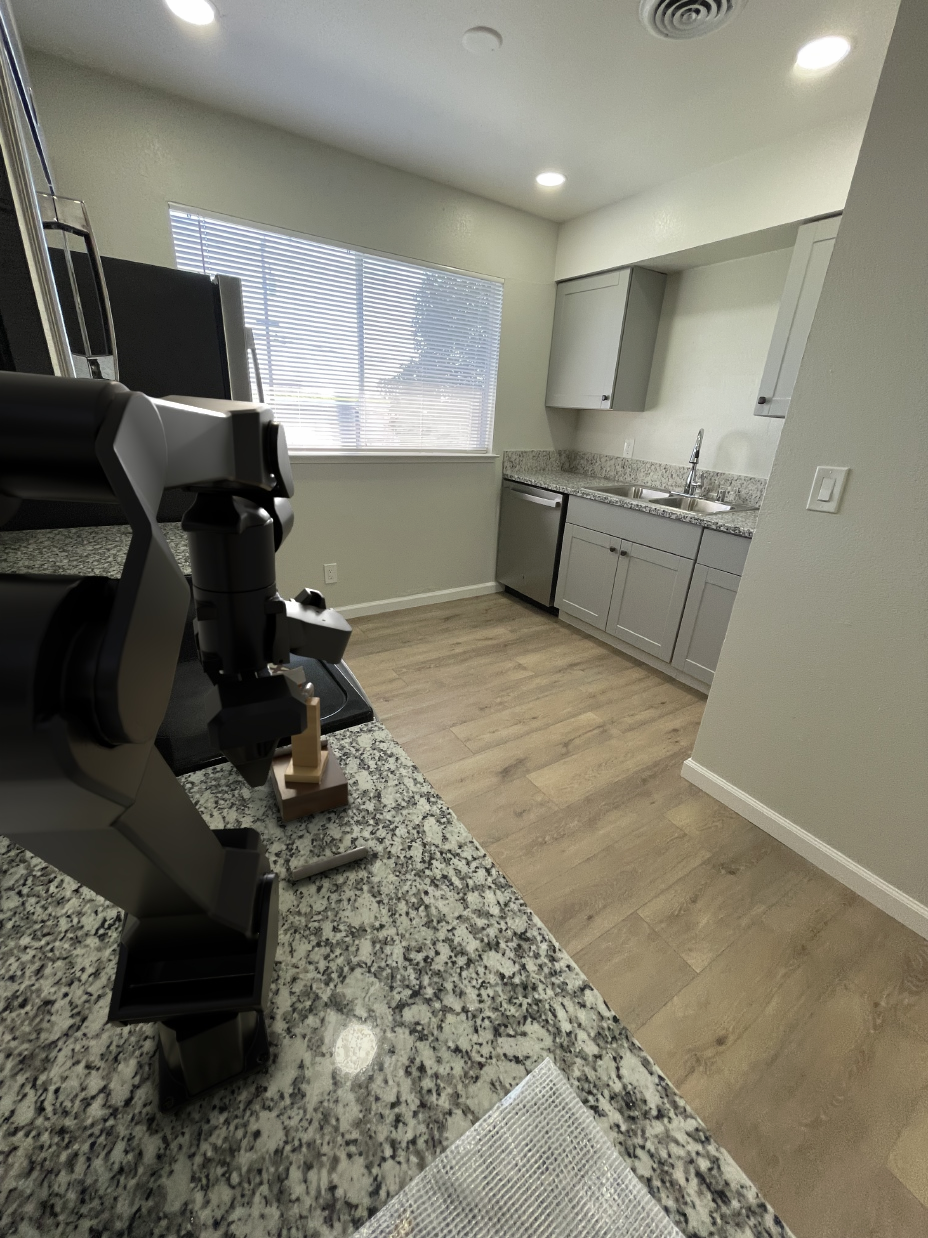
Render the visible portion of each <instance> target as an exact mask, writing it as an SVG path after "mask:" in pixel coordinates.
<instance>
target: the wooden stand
mask: <svg viewBox="0 0 928 1238" xmlns="http://www.w3.org/2000/svg"><path fill="white" fill-rule="evenodd" d="M321 751H328V761H327V763H326V766H325V769H324V772H323V775H322V778H321V781H320V783H308V782H287V781H285V780H284V774H285V771H286V769H287V767H288V765H289V763H290V760H291V758H292V745H290V746H286V747H281V748H276V750H275V754H274V757H273V761H272V764H271V768H270V771H269V776H270V781H271V783H272V787H273V791H274V795H275V798H276V801H277V805H278V808H279V812H280V816H281V818H282V823H286V822H289V821H293V820H296V819H300V818H304V817H307V816H311V815H313V814H317V813H322V812H324V811H328V810H331V809H336V808H339V807H342V806H345V805H348V804H349V782H348V780H347V778H346V776H345V774H344V771H343V769H342V767H341V765H340V763H339V761H338V758H337V757H336V754H335V752H334V750H333V748H332V746H331V744H330V742H329V741H328V738H323V739H322V738H321ZM367 856H368V853H367V848H366V846H365V845H363V846H360V847H356V848H354V849H350V850H348V851H345V852H342V853H338V854H335V855H332V856H330V857H326V858H323V859H320V860H317V861H314V862H312V863H309V864H306V865H305V864H304V865H302V866H299V867H297V868H293V869H292V870H291V876H292V880H293V882H296V881H299V880H302V879H304V878H308V877H310V876H313V875H316V874H319V873H323V872H326V871H329V870H331V869H334V868H337V867H339V866H343V865H345V864H346V865H347V864H349V863H351V862H354V861H357V860H360V859H363V858H366V857H367Z"/></svg>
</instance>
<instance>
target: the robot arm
mask: <svg viewBox="0 0 928 1238" xmlns="http://www.w3.org/2000/svg"><path fill="white" fill-rule="evenodd" d="M290 461H291V460H290V455H289V449H288V444H287V436H286V431H285V427H284V424H283V423H282V421H275V413H274V411H273V409H272V408H271V407H270V406H269V404H267V403H264V402H254V401H243V400H242V401H241V400H231V399H222V398H221V399H219V398H210V397H209V398H207V397H198V396H187V395H178V394H177V395H176V394H170V395H166V396H162V397H152V396H149V395H146V394H145V393H144V392H142V391H138V390H137V391H134V390H130V389H129V388H128V387H127V386H126V385H125V384H123V383H121V382H120V381H116V380H115V381H114V380H105V379H93V378H85V377H71V376H61V375H51V374H40V373H39V374H38V373H30V372H18V371H7V370H0V528H2V527H3V526H4V525H6V524H8V522H9V521H11V520H12V519H13V518H14V516H15V515H16V514H17V512H18V511H19V510H20V507H21V504H22V503H23V501H24V500H40V501H60V502H74V503H75V502H76V503H77V502H78V503H79V502H80V503H92V504H93V503H97V504H113V505H119V506H120V508H121V510H122V512H123V515H124V516H125V518H126V521H127V522H128V525H129V528H130V529H131V533H132V534H131V538H130V541H129V545H128V548H127V552H126V556H125V559H124V562H123V567H122V570H121V573H120V576H119V577H110V576H108V575H90V574H89V575H88V574H61V573H60V574H59V573H58V574H55V573H52V574H51V573H29V572H28V573H27V572H0V835H1V836H3V837H4V838H6V839H7V840H9V841H11V842H13V843H14V844H16V845H17V846H19V847H21V848H22V849H24V850H25V851H27V852H28V853H30V854H32V855H33V856H35V857H37V858H39V859H40V860H42V861H43V862H45V863H46V864H48V865H50V866H51V867H53V868H55V869H56V870H58V871H59V872H61V873H62V874H64V875H66V876H67V877H69V878H71V879H72V880H74V881H75V882H77V883H79V884H81V885H82V886H83V887H85V888H87V889H88V890H89V891H91V892H93V893H95V894H96V895H98V896H100V897H101V898H103V899H104V900H105V901H108V902H109V903H110V904H112V905H114V906H116V907H118V908H119V909H121V910H122V911H123V916H122V924H121V932H120V939H119V946H118V947H119V948H118V955H117V961H116V962H117V963H116V969H115V973H114V979H113V985H112V990H111V996H110V1000H109V1006H108V1011H107V1018H106V1019H107V1023H109V1024H110V1025H112V1026H113V1027H115V1028H117V1029H119V1028H120V1029H121V1028H128V1026H130V1025H140V1024H150V1023H156V1024H157V1027H158V1028H157V1029H158V1112H159V1114H160V1116H161V1117H164V1118H166V1117H170V1116H171V1115H174V1114H176V1113H179V1111H181V1110H184V1109H185V1108H188V1107H191V1105H195V1103H197V1102H200V1101H202V1100H204V1099H205V1098H207V1097H209V1096H212V1095H215V1094H216V1093H217V1092H219V1091H220V1092H221V1091H222V1090H224V1089H225V1088H228V1087H230V1086H232V1085H234V1084H236V1083H238V1082H239V1081H241V1080H243V1079H246V1078H248V1077H250V1076H252V1075H254V1074H256V1073H258V1072H259V1071H260V1072H261V1071H262V1070H264V1069H265V1068H267V1067H268V1066H269V1064H270V1063H271V1050H270V1049H271V1048H270V1043H269V1037H268V1031H267V1024H266V1019H265V1012H266V1011H267V1004H268V1000H269V994H270V988H271V983H272V979H273V973H274V967H275V962H276V956H277V951H278V946H279V926H280V925H279V923H280V921H279V919H280V918H279V917H280V914H279V913H280V876H279V872H278V871H275V872H272V867H271V862H270V859H269V857H268V856H267V855H266V853H267V850H268V849H267V848H268V845H267V844H264V843H263V841H262V836H261V833H260V832H259V830H257V829H255V827H252V826H251V827H248V826H247V827H229V828H211V827H210V826H209V824H208V823H207V821H206V820H205V818H204V817H203V815H202V814H201V812H200V811H199V809H198V808H197V806H196V805H195V803H194V802H193V800H192V799H191V797H190V796H189V794H188V793H187V792H186V790H185V788H184V786H182V784H181V782H180V781H179V780H178V778H177V776H176V774H175V773H174V772H173V770H172V769H171V767H170V766H169V764H168V763H167V761H166V760H165V758H164V757H163V755H162V754H161V752H160V750H159V749H158V748H157V746H156V745H155V742H156V738H157V736H158V732H159V729H160V727H161V725H162V723H163V721H164V720H165V717H166V714H167V710H168V707H169V703H170V700H171V694H172V691H173V690H172V689H173V685H174V681H175V676H176V671H177V667H178V661H179V656H180V652H181V646H182V641H183V637H184V632H185V627H186V622H187V618H188V613H189V609H190V603H191V598H192V594H193V601H194V607H195V614H196V617H195V618H194V619H193V620H192V623H193V624H192V626H193V633H194V640H195V646H196V647H195V648H196V651H197V656H198V657H197V658H198V662H199V663H200V665H201V668H202V669H203V670H202V671H203V674H206V676H207V678H208V679H209V680H210V683H211V684H212V686H213V688H212V689H210V691H209V692H208V693H207V694H206V695H205V696H204V697H203V705H204V714H205V720H206V721H205V722H206V729H207V736H208V744H209V748H210V749H212V750H216V751H219V752H220V753H221V754H222V755H223V756H224V758H226V759H227V761H228V762H229V763H230V764H231V766H233V768H234V769H235V770H236V771H237V772H238V774H239V775H240V777H242V779H243V780H244V782H245V783H246V784H247V785H248V787H250V789H257V788H261V787H264V786H266V784H267V783H268V778H269V776H270V768H271V764H272V761H273V757H274V754H275V750H276V749H277V748H278V744H279V742H280V740H281V739H283V738H288V737H291V736H294V735H298V734H302V733H303V732H304V731H305V730H306V729H307V728H308V724H307V705H306V702H305V700H304V698H303V696H302V694H301V692H300V689H299V687H298V685H297V683H296V682H295V681H293V680H292V679H290V678H288V677H287V676H285V675H284V674H280V675H273V676H272V674H271V671H270V668H269V666H268V664H270V663H272V664H273V665H275V666H276V665H289V664H291V655H294V656H297V657H302V658H307V659H308V658H309V659H314V660H320V661H324V662H326V664H329V665H341V663H342V659H343V658H344V654H345V652H346V649H347V646H348V643H349V641H350V639H351V636H352V633H353V631H354V630H353V628H352V626H351V625H350V624H349V622H348V621H346V619H345V617H344V616H343V615H342V614H341V613H339V612H337V611H336V610H335V609H334V608H332V607H329V608H327V604H326V598H325V596H324V595H323V594H322V592H321V591H320V590H316V589H312V588H308V587H304V588H303V589H302V590H301V591H300V592H299V593H298V594H297V595H296V596H295V597H294V598H289V599H288V600H285V599H284V597H281V596H280V594H279V589H278V587H277V572H276V570H277V569H276V556H275V555H276V553H277V552H278V551H279V550H280V548H281V547H282V546H283V544H284V542H285V541H286V540H287V538H288V537H289V535H290V533H292V531H293V530H292V529H293V527H294V524H295V523H294V522H295V514H294V510H293V507H292V506H291V503H290V501H289V500H288V499H291V498H293V497H294V495H295V484H294V479H293V472H292V468H291V462H290ZM176 489H180V490H181V491H182V493H190V494H196V495H195V499H194V501H193V503H192V505H190V507H189V508H188V509H187V510H185V512H184V513H183V515H182V518H181V520H180V521H181V522H180V529H181V530H182V531H183V532H184V533H186V538H187V547H188V555H189V563H190V564H189V565H190V572H191V580H192V594H191V588H190V587H191V586H190V584H189V583H188V580H187V578H186V577H185V575H184V572H183V570H182V569H181V566H180V564H179V563H178V561H177V558H176V557H175V555H174V552H173V551H172V548H171V547H170V544H169V542H168V541H167V539H166V537H165V534H164V533H163V531H162V529H161V526H160V525H159V523H158V521H157V515H158V513H159V507H160V503H161V500H162V496H163V492H166V491H171V490H176ZM256 674H257V677H258V678H257V677H256ZM262 1057H265V1059H264V1060H262V1061H261V1060H260V1059H261V1058H262ZM169 1102H171V1104H170V1105H169V1106H168V1107H165V1106H166V1105H167V1104H168V1103H169Z"/></svg>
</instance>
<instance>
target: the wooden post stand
mask: <svg viewBox="0 0 928 1238" xmlns="http://www.w3.org/2000/svg"><path fill="white" fill-rule="evenodd" d="M301 694H302V696H303V698H304V700H305V702H306V705H307V724H308V728H307V729H306V730H305V731H304V732H303V733H302V734H298V735H294V736H290V739H291V740H290V741H291V746H292V758H291V760H290V763H289V765H288V767H287V769H286V771H285V774H284V780H285V781H287V782H308V783H320V781H321V778H322V775H323V772H324V769H325V766H326V763H327V761H328V751H321V740H322V737H321V735H322V734H321V733H322V732H321V731H322V730H321V698H320V697H315V686H314V684H313V683H312V682H307V683H306V684H305V686H304V688H302V693H301Z"/></svg>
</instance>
